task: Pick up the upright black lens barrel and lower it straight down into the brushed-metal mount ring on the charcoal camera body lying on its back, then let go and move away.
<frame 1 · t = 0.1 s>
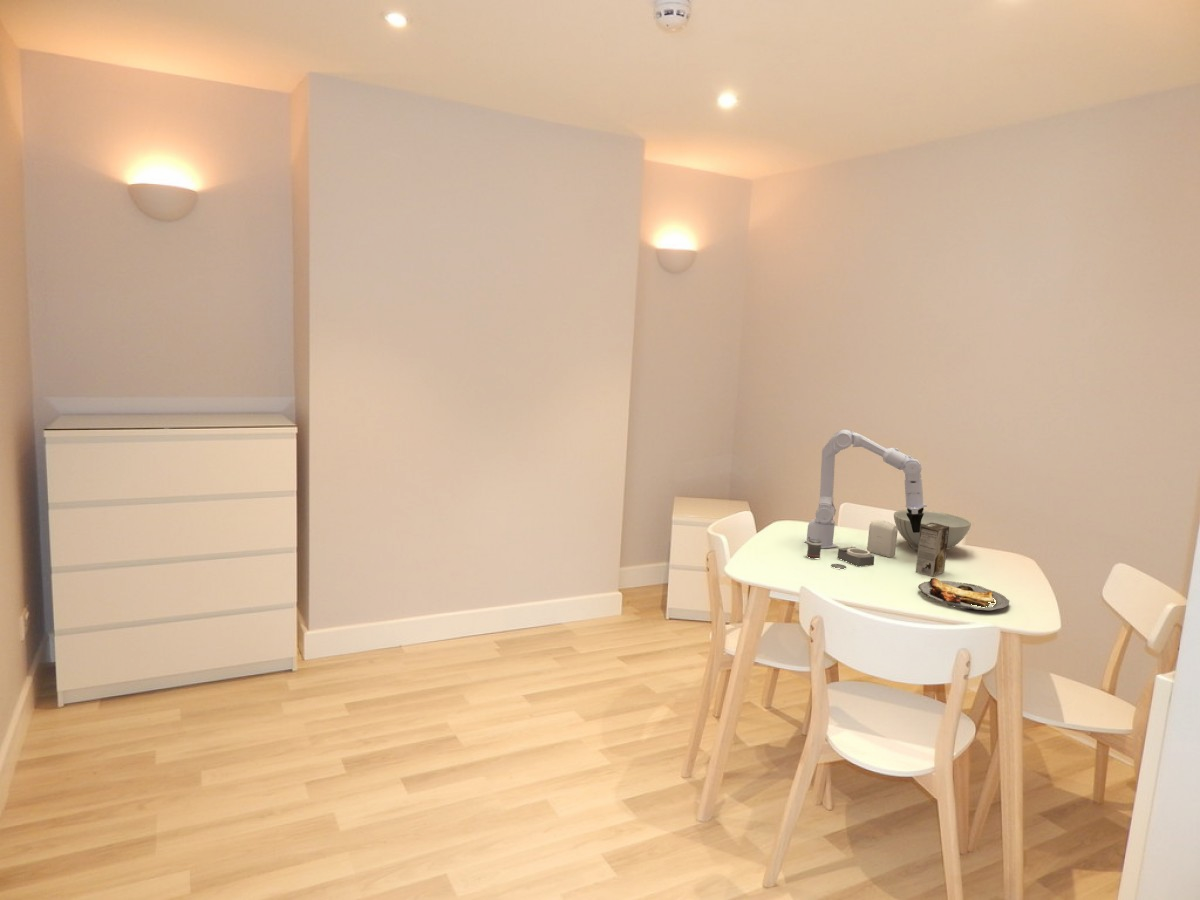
hand: (916, 530, 276), 11 cm above the table, tool pointing down, fingers open, 7 cm apart
lens: (813, 557, 272), on the table
lens cap: (838, 568, 262), on the table
coffee box: (929, 572, 262), on the table
food plate: (961, 600, 235), on the table
decorative bowl: (928, 549, 292), on the table
photo printer: (880, 554, 281), on the table
camera body: (855, 561, 270), on the table
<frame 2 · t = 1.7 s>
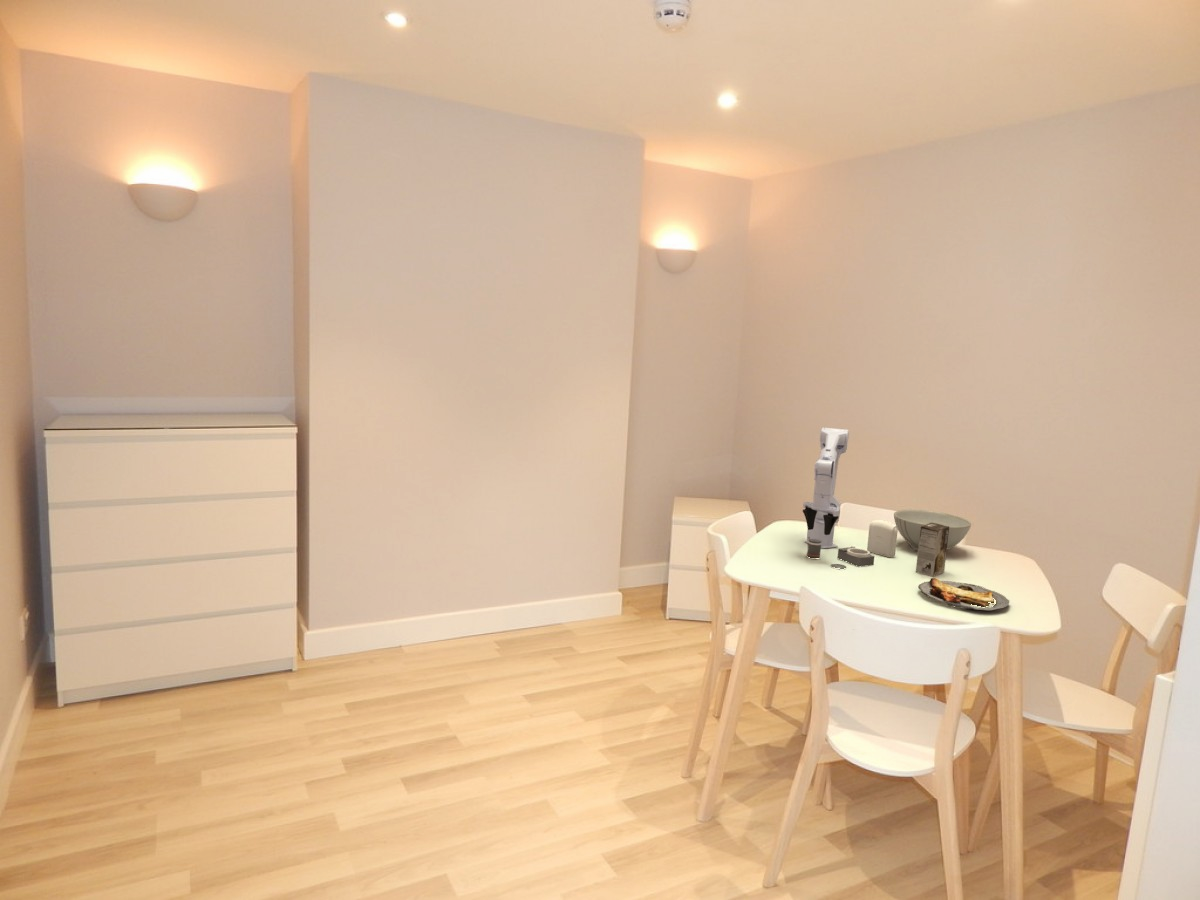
hand: (818, 531, 270), 9 cm above the table, tool pointing down, fingers open, 7 cm apart
nothing on the table moved.
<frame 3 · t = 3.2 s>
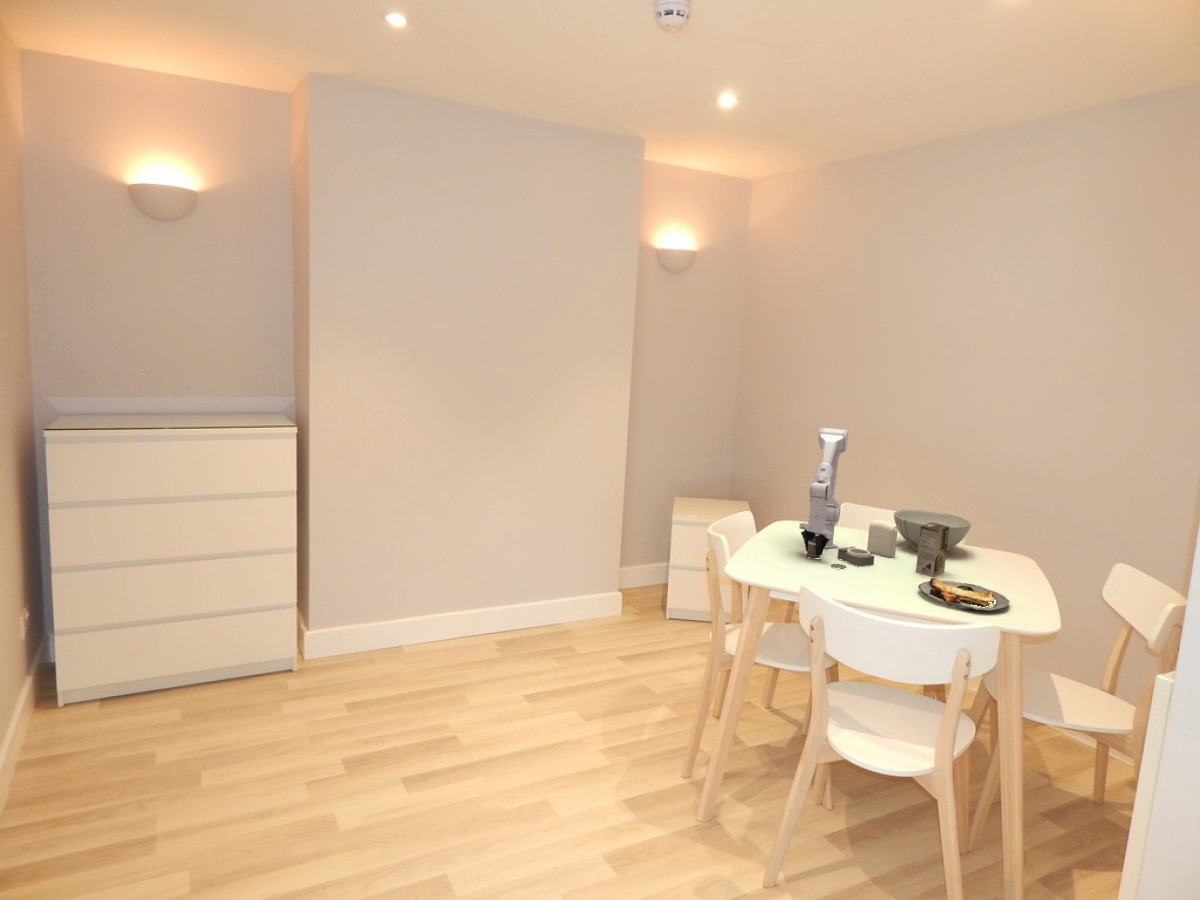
hand: (813, 553, 272), 1 cm above the table, tool pointing down, fingers closed on lens, 4 cm apart
lens: (813, 557, 272), on the table, touching gripper
everything else where it was.
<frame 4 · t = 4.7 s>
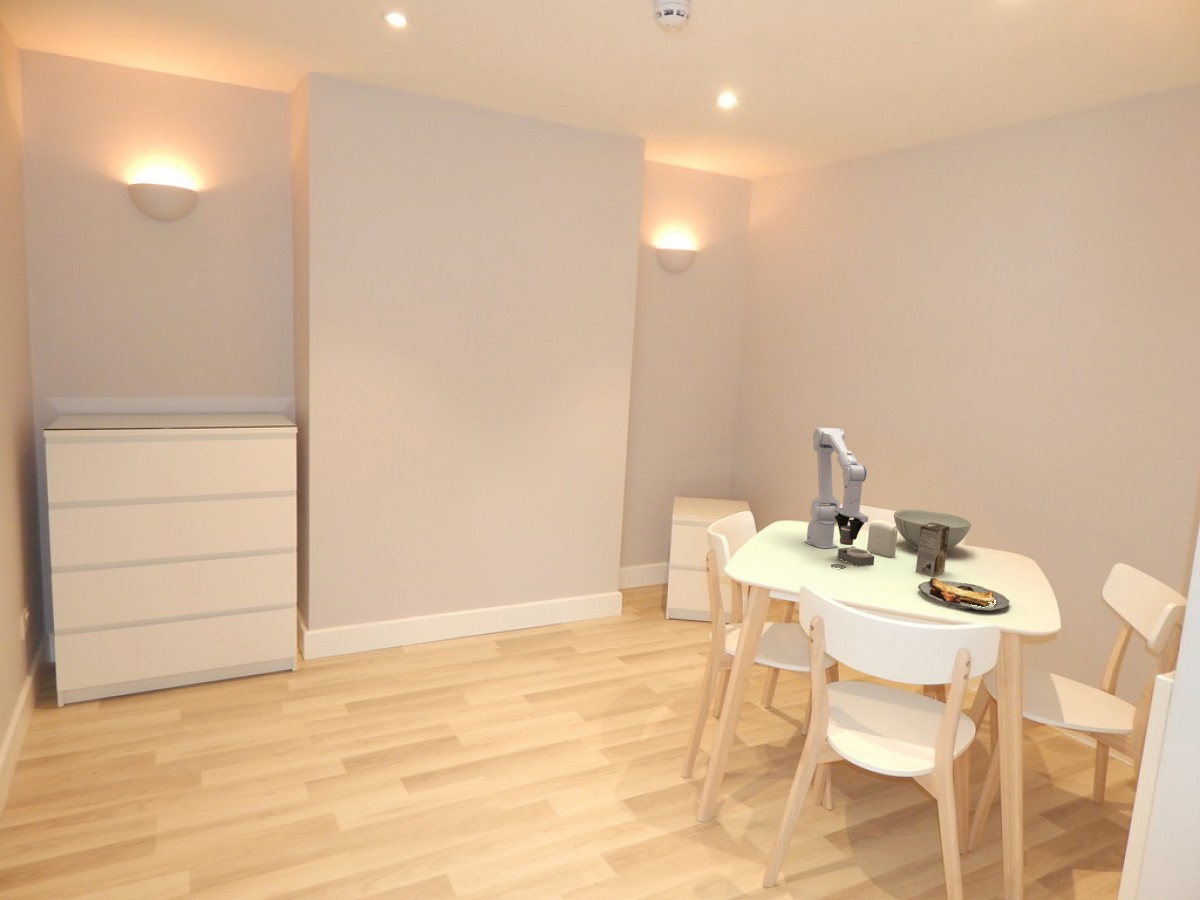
hand: (847, 537, 269), 8 cm above the table, tool pointing down, fingers closed on lens, 4 cm apart
lens: (846, 543, 269), point 6 cm above the table, touching gripper
everything else where it was.
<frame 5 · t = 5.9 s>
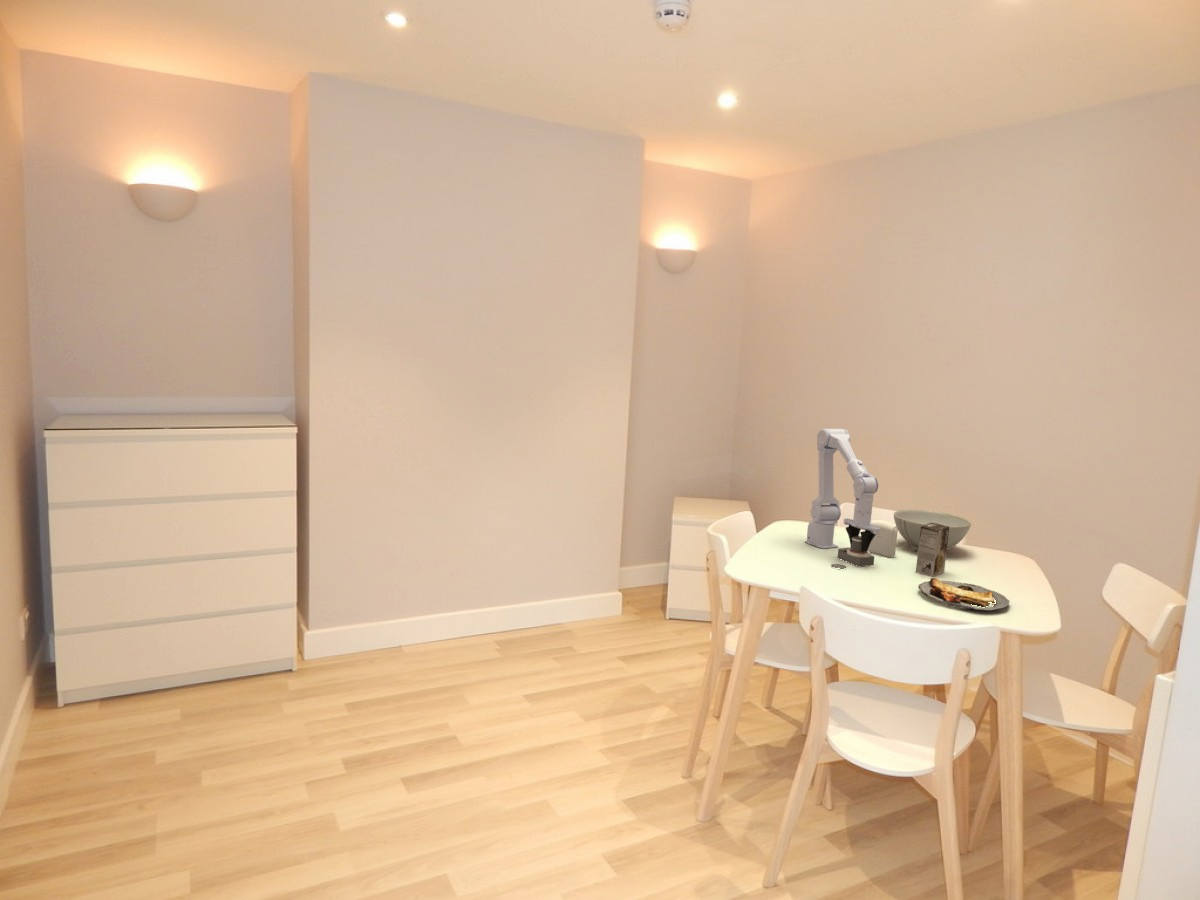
hand: (858, 549, 268), 5 cm above the table, tool pointing down, fingers closed on lens, 4 cm apart
lens: (857, 554, 268), point 3 cm above the table, touching camera body, gripper
everything else where it was.
when the fingers open (5 cm above the table, at t = 6.5 s): lens stays where it is, resting on camera body.
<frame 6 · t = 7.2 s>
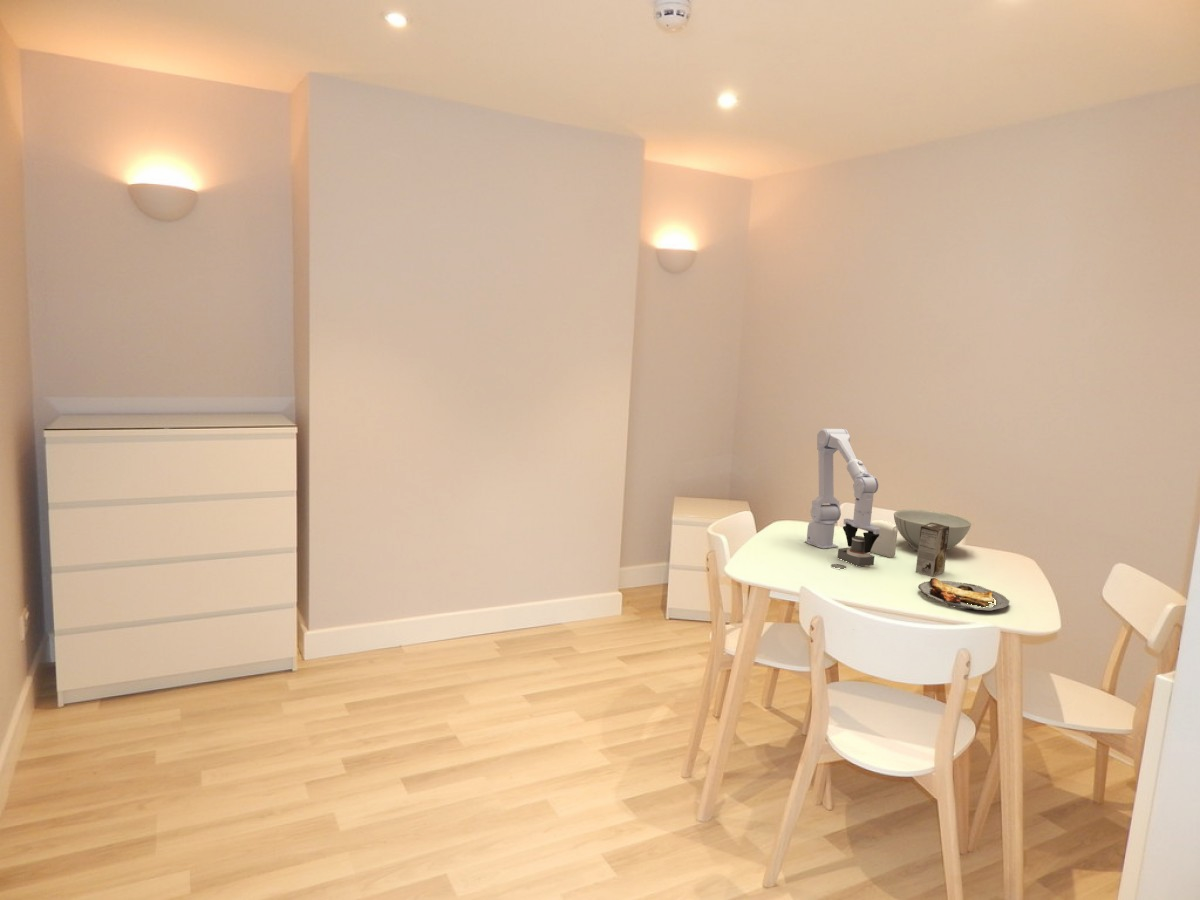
hand: (858, 549, 268), 5 cm above the table, tool pointing down, fingers open, 7 cm apart
lens: (857, 554, 268), point 3 cm above the table, touching camera body
everything else where it was.
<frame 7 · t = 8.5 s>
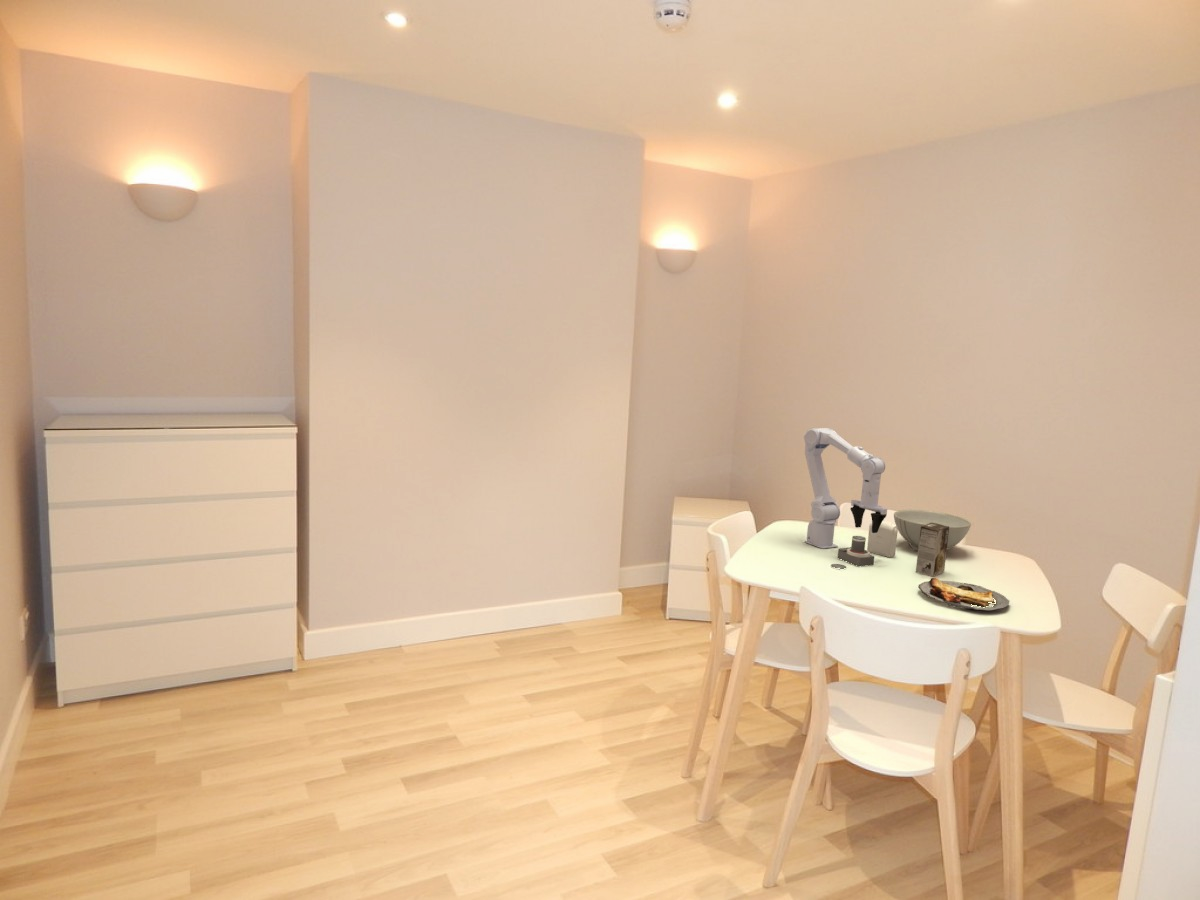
hand: (866, 529, 273), 10 cm above the table, tool pointing down, fingers open, 7 cm apart
nothing on the table moved.
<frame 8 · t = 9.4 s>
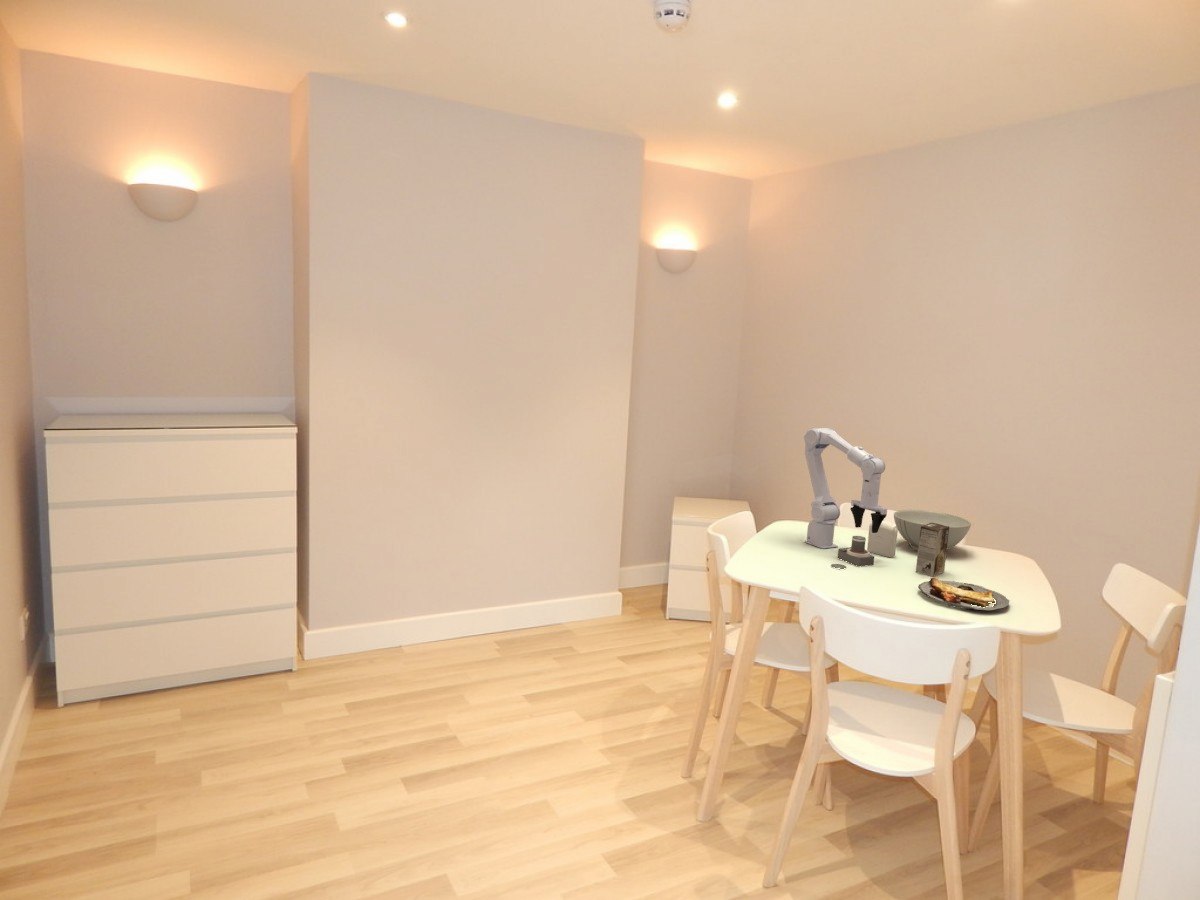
hand: (866, 529, 273), 10 cm above the table, tool pointing down, fingers open, 7 cm apart
nothing on the table moved.
at the end: lens 0.5 cm from the target spot on the camera body, point 3.0 cm above the camera body's base; lens tilted 0°; the gripper is holding nothing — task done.
